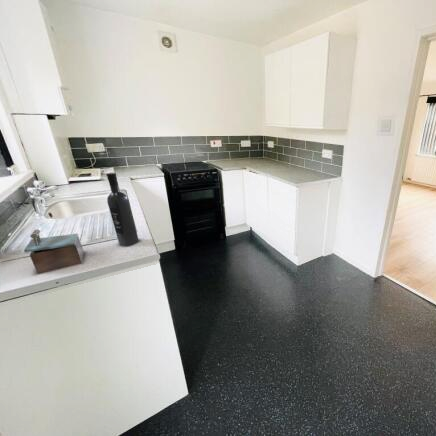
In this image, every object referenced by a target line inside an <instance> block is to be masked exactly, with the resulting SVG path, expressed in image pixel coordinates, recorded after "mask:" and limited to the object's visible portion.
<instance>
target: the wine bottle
mask: <svg viewBox="0 0 436 436" xmlns="http://www.w3.org/2000/svg"><path fill="white" fill-rule="evenodd" d="M106 178H107V180H108V184H109V188H110V193H109V195H108V196H107V199H106V202H107V207H108V209H109V213H110V216H111V220H112V224H113V228H114V232H115V234H116V239H117V242H118V245H119V246H120V247H121V246H122V247H131V246H133V245H136V244H138V243H139V242H140V239H139V235H138V231H137V228H136V227H137V226H136V223H135V219H134V215H133V211H132V207H131V203H130V200H129V197H128V196H127V194H125V192H122V191H121V190H120V185H119V181H118V177H117V174H116V173H115V172H110V173H106Z"/></svg>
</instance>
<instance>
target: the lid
mask: <svg viewBox="0 0 436 436" xmlns="http://www.w3.org/2000/svg"><path fill="white" fill-rule="evenodd" d="M40 233H41V230H40V229H34V230H33V231H32V233H31V234H30V238H31V240H30V241H29V243H27V246H26V247H25V248H24V250H23V252H24V253H31V252H32V251H38V250H45V249H52V248H59V247H66V246H73V245H76V241H77V237H79V234H78V233H72V234H71V233H70V234H62V235H54V236H47V237H41V236H40Z"/></svg>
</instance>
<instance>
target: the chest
mask: <svg viewBox="0 0 436 436" xmlns="http://www.w3.org/2000/svg"><path fill="white" fill-rule="evenodd" d="M84 252H85V251H84V249H83V246H82V243H81V240H80V237H79V236H78V237H77V241H76V245H73V246H66V247H59V248H52V249H45V250H38V251H31V252H29V253H30V254H29V257H30V260H31V262H32V264H33V267H34V269H35V271H36V273H37V274H38V275H40V274H43V273H44V274H45V273H48V272H52V271H55V270H59V269H63V268H68V267H72V266H75V265H80V264H83V259H84V254H85V253H84Z"/></svg>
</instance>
